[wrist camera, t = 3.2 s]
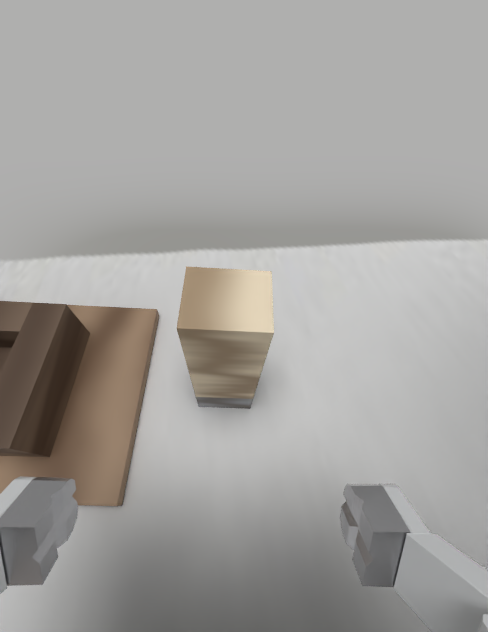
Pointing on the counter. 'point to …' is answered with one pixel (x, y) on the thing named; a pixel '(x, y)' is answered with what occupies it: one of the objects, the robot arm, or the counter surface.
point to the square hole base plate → (72, 394)
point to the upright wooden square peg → (225, 333)
